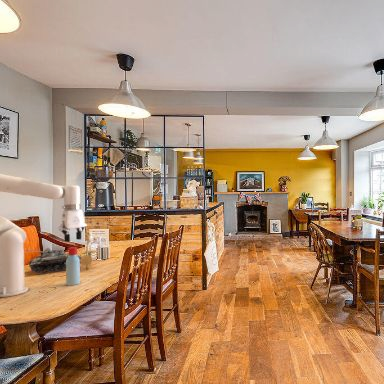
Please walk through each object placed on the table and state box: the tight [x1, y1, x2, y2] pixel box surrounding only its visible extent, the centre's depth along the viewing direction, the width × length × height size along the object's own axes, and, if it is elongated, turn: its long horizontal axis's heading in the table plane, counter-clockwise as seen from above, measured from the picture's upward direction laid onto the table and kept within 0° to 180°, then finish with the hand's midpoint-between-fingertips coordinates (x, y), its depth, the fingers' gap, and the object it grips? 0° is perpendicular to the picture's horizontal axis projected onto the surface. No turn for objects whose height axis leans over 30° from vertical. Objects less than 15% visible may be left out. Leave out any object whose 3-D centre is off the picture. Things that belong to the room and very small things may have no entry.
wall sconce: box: [80, 230, 98, 270], centre depth 187 cm, size 14×10×25 cm
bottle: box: [65, 254, 81, 286], centre depth 157 cm, size 6×6×20 cm
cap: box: [67, 246, 78, 255], centre depth 157 cm, size 4×4×4 cm
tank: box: [25, 247, 83, 275], centre depth 185 cm, size 16×31×15 cm, turn 132°
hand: (73, 240), depth 157 cm, fingers open, 5 cm apart
